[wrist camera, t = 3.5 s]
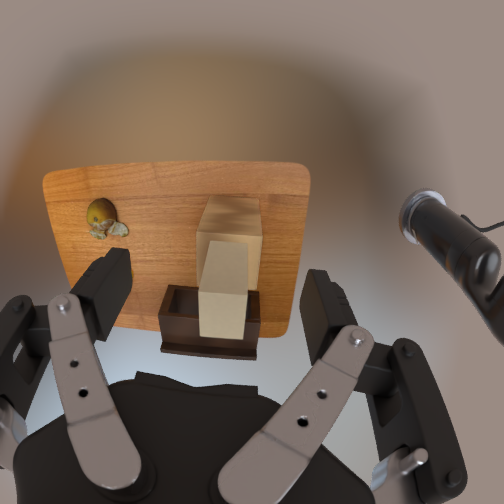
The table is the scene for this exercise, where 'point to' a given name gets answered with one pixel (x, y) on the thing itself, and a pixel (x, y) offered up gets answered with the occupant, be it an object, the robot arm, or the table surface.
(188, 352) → the shelf
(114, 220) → the fruit
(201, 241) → the block
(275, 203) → the table surface
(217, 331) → the snack box
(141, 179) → the table surface
